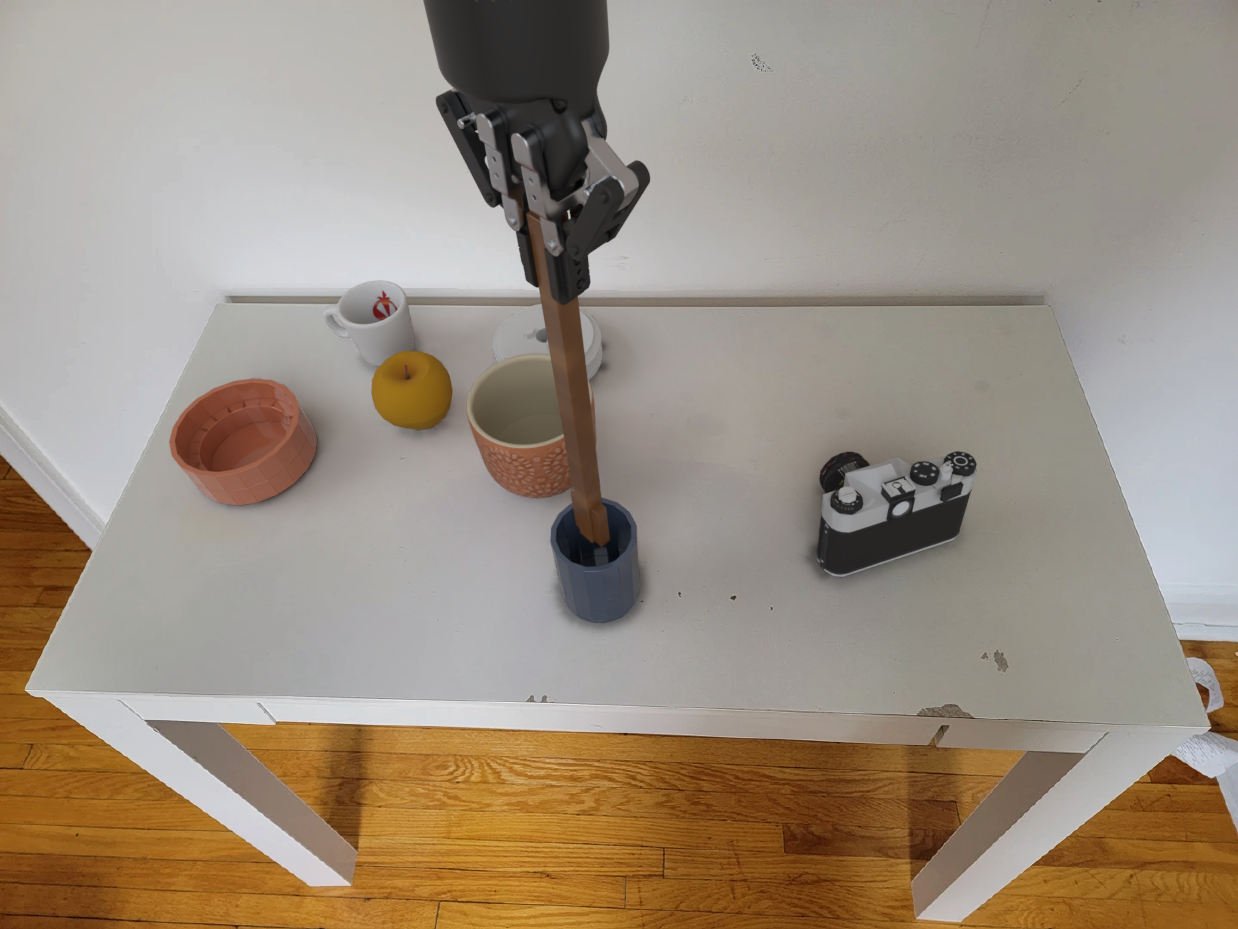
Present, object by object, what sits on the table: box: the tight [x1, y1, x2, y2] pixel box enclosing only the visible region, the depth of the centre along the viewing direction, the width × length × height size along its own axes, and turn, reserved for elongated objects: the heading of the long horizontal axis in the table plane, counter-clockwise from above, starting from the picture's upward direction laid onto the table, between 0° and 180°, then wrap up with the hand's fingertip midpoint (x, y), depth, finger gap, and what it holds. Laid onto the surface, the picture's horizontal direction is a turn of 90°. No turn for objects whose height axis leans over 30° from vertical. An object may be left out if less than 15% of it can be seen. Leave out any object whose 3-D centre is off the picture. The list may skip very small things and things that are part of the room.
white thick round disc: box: [492, 303, 604, 381], centre depth 90 cm, size 13×13×5 cm
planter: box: [466, 353, 597, 499], centre depth 78 cm, size 12×12×11 cm
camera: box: [816, 450, 978, 578], centre depth 73 cm, size 15×11×10 cm
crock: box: [549, 497, 641, 624], centre depth 70 cm, size 7×7×10 cm
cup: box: [322, 279, 416, 367], centre depth 91 cm, size 11×8×8 cm
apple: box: [370, 350, 454, 431], centre depth 84 cm, size 9×8×9 cm
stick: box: [526, 211, 610, 547], centre depth 53 cm, size 2×3×32 cm, turn 45°
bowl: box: [168, 377, 318, 506], centre depth 83 cm, size 13×13×6 cm
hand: (557, 286), depth 44 cm, fingers closed on stick, 1 cm apart
